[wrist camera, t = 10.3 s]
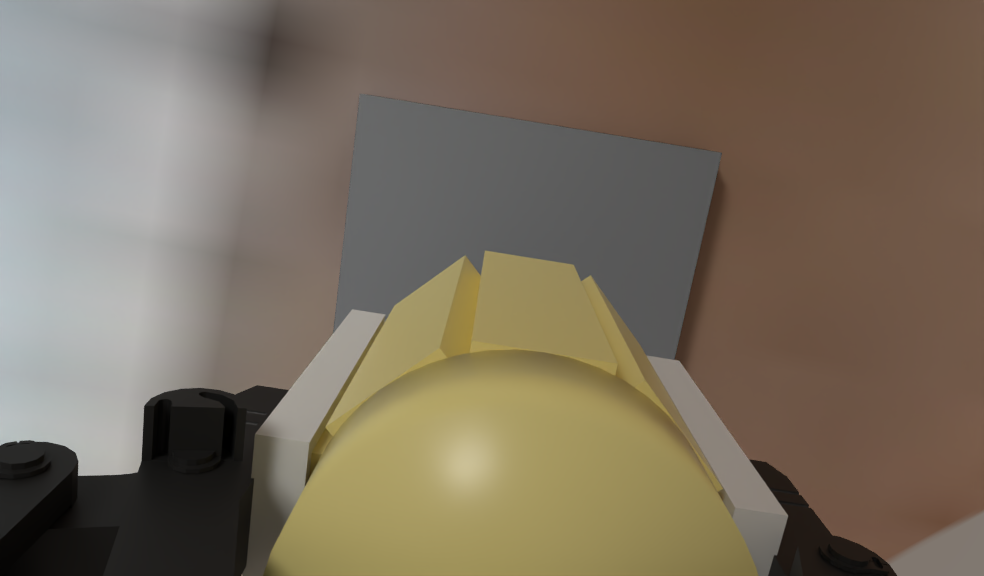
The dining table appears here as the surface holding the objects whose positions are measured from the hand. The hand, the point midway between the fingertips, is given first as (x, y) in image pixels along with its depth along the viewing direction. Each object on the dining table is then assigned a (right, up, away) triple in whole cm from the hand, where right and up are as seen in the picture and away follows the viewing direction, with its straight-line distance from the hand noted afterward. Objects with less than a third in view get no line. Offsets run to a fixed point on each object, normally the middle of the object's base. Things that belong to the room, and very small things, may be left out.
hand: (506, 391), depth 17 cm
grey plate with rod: (0, +1, +6) cm, 6 cm away
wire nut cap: (0, 0, 0) cm, 0 cm away
